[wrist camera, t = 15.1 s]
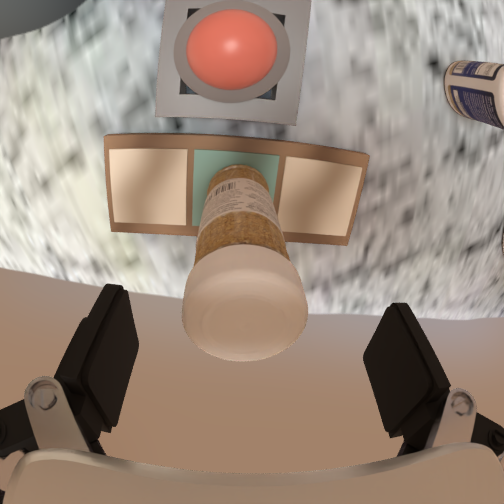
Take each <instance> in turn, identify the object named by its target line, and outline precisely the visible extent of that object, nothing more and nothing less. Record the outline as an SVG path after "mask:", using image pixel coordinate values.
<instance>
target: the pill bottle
mask: <svg viewBox="0 0 504 504" xmlns="http://www.w3.org/2000/svg"><path fill="white" fill-rule="evenodd" d="M445 92H446V96H447V99H448V101H449V103H450V105H451V106H452V108H453V109H454V110H455V111H456V112H457V113H458V114H460V115H462V116H464V117H467V118H470V119H474V120H477V121H480V122H484V123H487V124H490V125H492V126H495V127H498V128H501V129H504V64H497V63H488V62H476V61H457V62H454V63H453V64H451V65H450V66H449V68H448V70H447V72H446V75H445Z"/></svg>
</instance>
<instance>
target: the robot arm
mask: <svg viewBox="0 0 504 504" xmlns="http://www.w3.org/2000/svg"><path fill="white" fill-rule="evenodd" d="M503 252H504V235H503ZM138 348H139V341H138V337H137V332H136V328H135V324H134V319H133V314H132V310H131V305H130V300H129V295H128V291H127V290H124V289H123V286H122V285H115V284H106V285H105V286H104V288H103V290H102V291H101V293H100V295H99V297H98V298H97V300H96V302H95V304H94V306H93V308H92V310H91V312H90V313H89V315H88V317H85V318H83V319H82V321H81V322H80V324H79V326H78V328H77V330H76V332H75V334H74V336H73V338H72V340H71V342H70V344H69V346H68V348H67V350H66V352H65V354H64V356H63V358H62V360H61V362H60V365H59V367H58V369H57V371H56V374H55V375H54V378H52V377H49V376H42V377H38V378H36V379H34V380H32V381H31V382H30V383H29V384H28V386H27V388H26V389H25V393H24V399H23V400H21V401H19V402H17V403H14V404H12V405H10V406H8V407H5V408H3V409H1V410H0V504H504V428H503V427H501V426H500V425H498V424H497V423H495V422H493V421H491V420H489V419H488V418H486V417H484V416H483V415H481V414H479V413H477V412H476V411H477V405H476V401H475V399H474V398H473V396H472V395H471V394H470V393H469V392H468V391H466V390H464V389H461V388H456V389H453V390H452V391H451V392H450V390H449V387H450V386H451V385H450V383H449V380H448V378H447V376H446V374H445V372H444V370H443V368H442V366H441V364H440V362H439V360H438V358H437V356H436V354H435V352H434V350H433V348H432V346H431V345H430V343H429V341H428V339H427V337H426V335H425V333H424V332H423V330H422V328H421V326H420V324H419V322H418V321H417V319H416V317H415V315H414V314H413V312H412V310H411V308H410V307H409V305H408V304H407V303H392V304H391V305H390V306H389V307H387V308H386V310H385V312H384V315H383V317H382V319H381V321H380V323H379V325H378V327H377V329H376V331H375V333H374V335H373V337H372V339H371V340H370V343H369V344H368V346H367V348H366V350H365V352H364V355H363V361H364V364H365V367H366V370H367V374H368V377H369V380H370V383H371V386H372V389H373V392H374V396H375V399H376V402H377V405H378V409H379V412H380V415H381V419H382V422H383V426H384V429H385V431H386V432H389V436H390V438H393V437H398V436H402V435H403V438H404V441H403V444H402V446H401V448H400V450H399V452H398V455H397V457H395V458H391V459H387V460H382V461H377V462H372V463H367V464H362V465H355V466H349V467H343V468H335V469H328V470H319V471H308V472H296V473H275V474H240V473H217V472H204V471H193V470H184V469H176V468H169V467H163V466H156V465H150V464H144V463H139V462H134V461H128V460H124V459H119V458H115V457H110V456H107V455H106V453H105V451H104V450H103V448H102V446H101V444H100V442H99V440H98V438H99V437H100V433H101V431H104V432H108V433H111V429H112V426H113V427H116V425H117V423H118V420H119V415H120V411H121V408H122V404H123V401H124V397H125V393H126V390H127V386H128V383H129V379H130V376H131V372H132V369H133V365H134V362H135V359H136V356H137V352H138Z"/></svg>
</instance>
